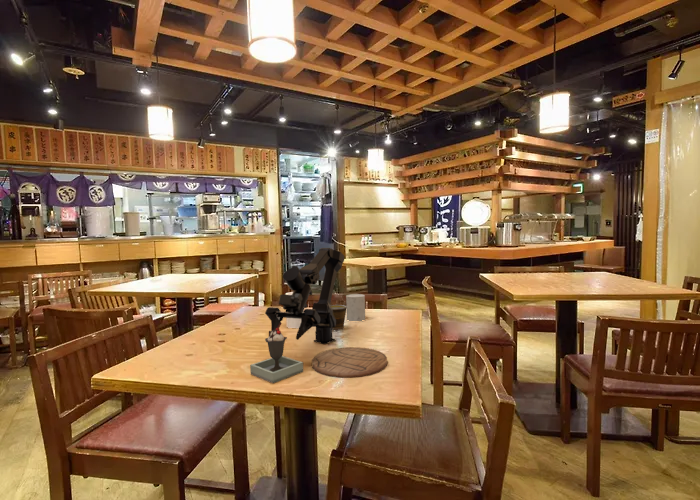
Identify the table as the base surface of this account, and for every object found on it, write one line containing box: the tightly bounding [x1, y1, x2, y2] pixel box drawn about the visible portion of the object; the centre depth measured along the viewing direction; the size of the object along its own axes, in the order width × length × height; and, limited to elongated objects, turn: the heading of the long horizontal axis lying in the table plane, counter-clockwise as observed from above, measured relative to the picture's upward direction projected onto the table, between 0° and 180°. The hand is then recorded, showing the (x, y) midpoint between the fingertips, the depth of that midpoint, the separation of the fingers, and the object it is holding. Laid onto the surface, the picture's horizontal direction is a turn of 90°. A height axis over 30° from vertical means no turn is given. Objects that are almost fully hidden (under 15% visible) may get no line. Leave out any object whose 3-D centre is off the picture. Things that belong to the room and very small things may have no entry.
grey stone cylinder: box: [345, 293, 366, 322], centre depth 182 cm, size 10×10×12 cm
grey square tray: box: [250, 355, 304, 384], centre depth 114 cm, size 12×12×3 cm
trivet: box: [311, 346, 388, 379], centre depth 121 cm, size 25×25×2 cm
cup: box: [285, 291, 304, 329], centre depth 172 cm, size 8×8×16 cm
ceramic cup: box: [330, 304, 347, 331], centre depth 165 cm, size 13×10×10 cm
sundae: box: [264, 324, 288, 372], centre depth 113 cm, size 7×7×15 cm
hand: (284, 338), depth 118 cm, fingers open, 9 cm apart
